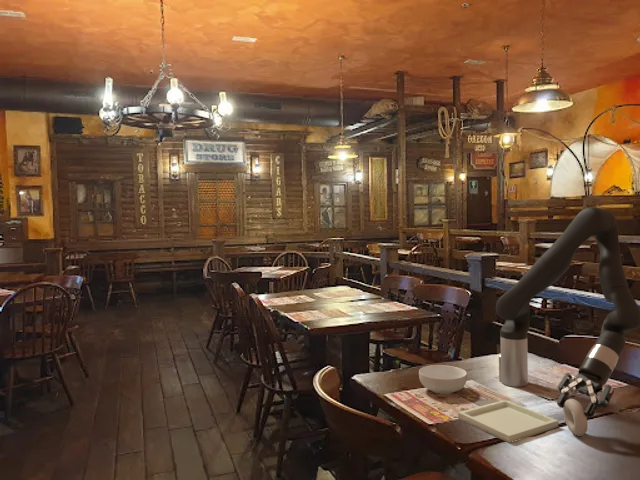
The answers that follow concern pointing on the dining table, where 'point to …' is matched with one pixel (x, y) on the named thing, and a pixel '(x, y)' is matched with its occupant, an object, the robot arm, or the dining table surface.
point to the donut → (575, 417)
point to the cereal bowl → (442, 378)
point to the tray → (508, 420)
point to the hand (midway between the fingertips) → (572, 411)
